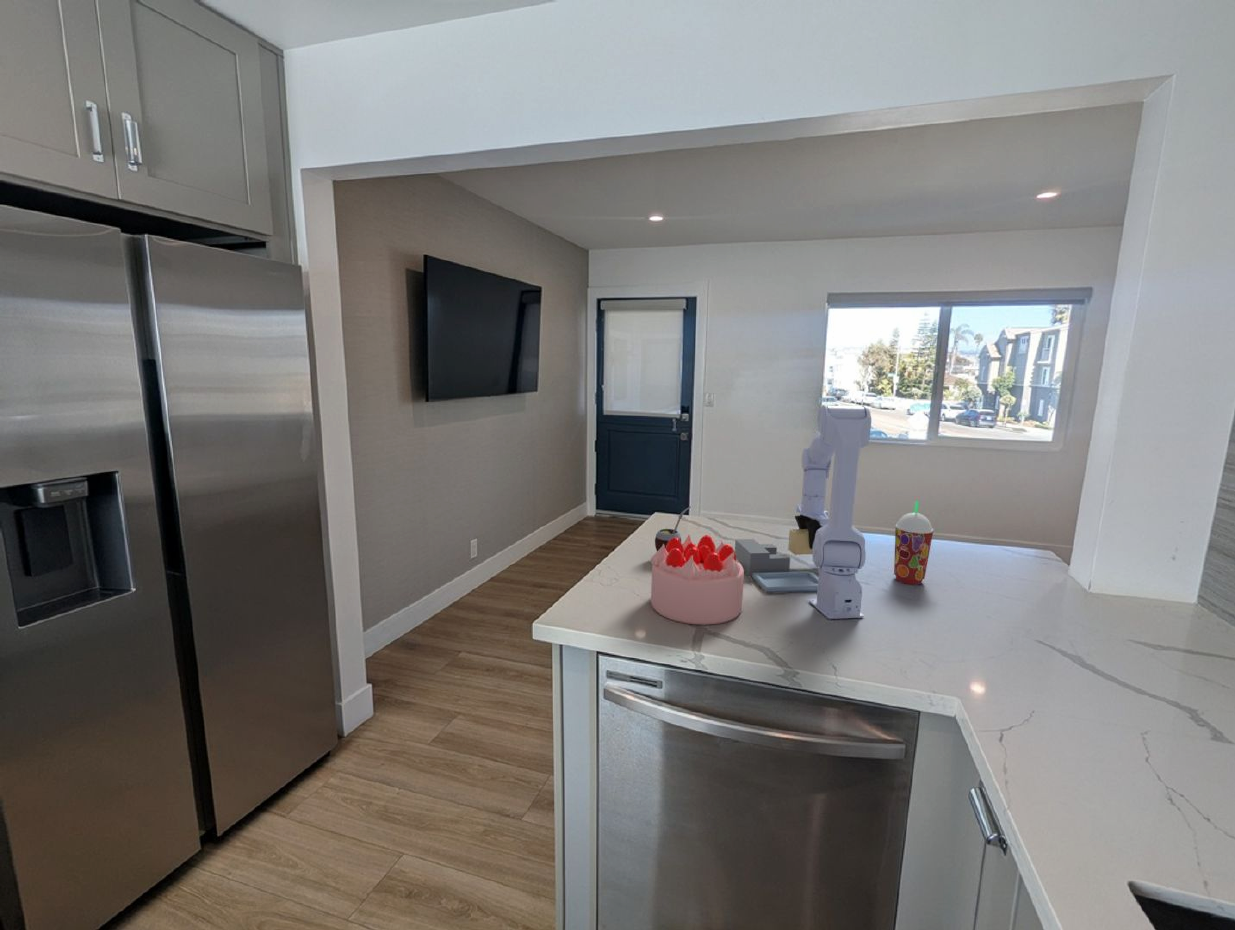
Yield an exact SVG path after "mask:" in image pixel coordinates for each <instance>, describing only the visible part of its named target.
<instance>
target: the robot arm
mask: <svg viewBox="0 0 1235 930" xmlns="http://www.w3.org/2000/svg"><path fill="white" fill-rule="evenodd" d="M817 412H818V413H817V419H816V420H817V421H816V423H817V427H816V428H817V430H818V432H819V434H817V435H815V436H814V438H813V439H812V442H811V443H810V446H809V447H805V446H804V448H803V451H802V454H801V467H802V470H803V478H802V491H801V504H796V510H795V511H796V513H799V515H795V516H794V519H795V522H796V524H797V526H798V529H808V534H809V547H810V549H812V554H811V555H812V562H813V564H814V566H816V567H817V568H818V577H819V578H818V590H817V593H816V598H809V599H808V602H809V604H811V605H812V606H814V608H816V609H817V610H818V611H819V612H820V613H821V614H823V616H825V617H826V618H827V619H829V620H837V619H839V620H841V619H856V618H857V619H859V618H860V619H861V618H865V615H864V614H863V613H862V612H861V608H862V599H863V597H862V596H863V588H862V585H861V584H860V582H859V581H858V580H857V578H856V574H858V573H859V570H861V569H862V568H863V567H864V565H865V563H866V559H867V558H866V556H867V554H866V539H865V537H864V535H863V533H862V532H861V531H860V530H858V529H857V528H856V527H855V526H854V525H853V521H854V520H853V519H854V509H855V499H856V491H857V490H856V487H857V479H858V468H859V458H860V454H861V449H862V448H864V447H867V446H868V445H869V444H870V443H869V441H870V439H871V438H870V437H871V430H872V429H871V428H872V416H871V411H870V409H869V408H868V406H866V405H862V406H849V405H826V404H823V405H821V406H820V407H819V409H818V411H817ZM833 455H834V458H833ZM832 458H833V467H831V466H832ZM831 468H832V478H831V479H832V481H831V493H830V503H829V510H828V511H827V510H825V503H826V493H827V492H826V491H827V479H829V476H830V470H831ZM827 515H829V516H827Z"/></svg>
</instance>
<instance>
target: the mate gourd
mask: <svg viewBox="0 0 1235 930" xmlns="http://www.w3.org/2000/svg"><path fill="white" fill-rule="evenodd" d="M691 507H692V506H689V507H687V508H685V509H684V510H682V511H681V513H680V514H679V516H678V519H677V522H676V525H675V526H674V529H672V528H663V529H659V530H658V531H657V532H656V534H655V538H654V546H655V549H656V552H657V551H658V550H659V549H660V548H661V547H662V546H663V544H664V546H665V548H666V545H667V544H668V542H669V540H670V539H671V538H673V537H676V538H678V539H679V540H680V541H681V542H682V538H681V537H682V536H681V534H680V532H679V531H678V527H679V524H680V521H681V519H682V518H683V515H684V514H685V513H686V512H687V511H689V509H691Z"/></svg>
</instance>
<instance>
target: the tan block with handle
mask: <svg viewBox="0 0 1235 930" xmlns="http://www.w3.org/2000/svg"><path fill="white" fill-rule="evenodd" d="M788 532H789V534H788V535H789V536H788V547H787V549H788V551H789V552H791V553H792V554H793V555H795V556H796V555H799V556H800V555H812V549H810V547H809V534H808V529H799V528H798V529H797V528H796V529H795V528H794V529H793V528H792V529H789V531H788Z"/></svg>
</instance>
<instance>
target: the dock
mask: <svg viewBox="0 0 1235 930" xmlns="http://www.w3.org/2000/svg"><path fill="white" fill-rule="evenodd" d="M777 549H778V547H777V546H776V545H774V544H773V543H767V544H766V543H765V544H764V543H762V544H761V543H759V542H758V541H756V540H755V539H754V538H749V539H748V538H746V539H745V538H743V539H740V538H739V539H738V538H737V539H735V542H734V551H735V554H736V557H737V560H738V562H739V563H740V564H741V565H742V567H743V569H744V574H745V573H746V575H747V576H748V577H753V573H771V572H790V566H791V564H790V563H791V557H790V556H788V555H787V554H786V553H780V554H779V553H778V552H777V551H778V550H777Z"/></svg>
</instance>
